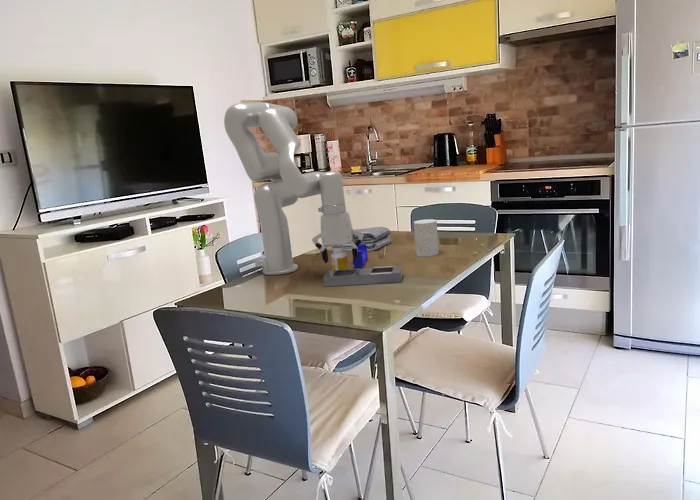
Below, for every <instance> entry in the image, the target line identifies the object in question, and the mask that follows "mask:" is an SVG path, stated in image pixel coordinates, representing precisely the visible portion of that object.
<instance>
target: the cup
mask: <svg viewBox="0 0 700 500" xmlns="http://www.w3.org/2000/svg"><path fill="white" fill-rule="evenodd" d="M437 223H438V222H437V219H432V218H431V219H419V220H416V221H415V220H414V221H413V231H414V241H415V243H414V244H415V254H416V256H417V257H422V258H423V257H425V258H427V257H433V256H434V255H435V256H438V255H439V254H440V252H439V251H440V250H439V236H438V224H437ZM437 254H438V255H437ZM435 256H434V257H435Z"/></svg>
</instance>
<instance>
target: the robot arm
mask: <svg viewBox="0 0 700 500" xmlns="http://www.w3.org/2000/svg"><path fill="white" fill-rule="evenodd" d="M223 121H224V122H223V125H224V129H225V132H226V134H227V137H228V138H229V140H230V142H231V143H232V145H233V147H234V148H235V150H236V153H237V155H238V157H239V159H240V162H241V163H242V166H243V168H244V170H245V171H244V172H245V173H246V175H247V177H248V178H249V179H250V180H251V181H252V182H256V183H257V182H264V181H270V182H265V183H263V184H260V185H259V186H258V187H257V188H256V189H255V191H254V193H253V200H254V204H255V207H256V209H257V213H258V218H259V222H260V229H261V235H262V236H261V237H262V244H263V250H264V252H263V253H264V257H265V259H263V260H254V261H255V262H254V265H255V267H256V268H263V269H262V274H264V275H268V276H280V275H286V274H290V273H293V272H295V271H297V270H298V268H299V266H298V264H296V263H294V261H293V253H292V245H291V238H290V228H289V222H288V218H287V215H286V214H285V212H284V210H283V208H286V207H289V206H292V205H294V204H295V203H297V201H298V199H306V198H308V197H309V198H310V197H312V196H317V195H320V200H321V206H320V207H318V208H317V211H318V213H322V215H320V233H318V234H317V235H315V236H314V237H312V239H311V242H312V243H313V244H314V246H315V247H316V248H317V249H318V250H320V252H321V257H322V261H324V263H325V264H327V263H329V256H328V255H329V253H328V249H327V247H330V246H332V247H334V246H340V245H344V244H350V245H351V246H352V247H353V249H352V251H351V254H352V261H353V260H354V261H356V259H357V257H358V250H357V247H358V245H359V244H360V243H361V242H362V239H363V236H364V234H363V233H361V232H359V231H356V230H354V229H353V225H352V221H351V217H350V213H349V212H348V211H347V207H346V200H345V192H344V185H343V184H344V183H343V175H342V173H341V172H340V171H339V170H331V171H325V172H323V171H312V172H306V173H302V172H301V170H300V169H299V167H298V166H297V164H296V161H295V158H294V157H295V156H294V155H295V154H296V152H298V151H299V149H300V148H301V146H302V145H301V144H302V143H301V141H300V139H299V138H298V136H297V135H296V133H295V131H294V130H295V129H296V127H297V125H298V117H297V114H296V112H295V111H294V110H293V109H292V108H290V107H288V106H284V105H279V104H274V103H270V102H264V101H257V102H256V101H255V102H253V101H252V102H250V101H249V102H248V101H247V102H245V101H244V102H238V103H234V104H231V105H230V106H229V107H228V108H227V109H226V111H225V113H224V119H223ZM259 127H260V128H261V130H262V131H263V133H264V135H265V136H266V138H267V139H268V141H269V142H270V144H271V145H272V147H273V148H274V152H273V151H270V152H266V151H264V149H263V147H262V145H261V143H260V141H259V139H258V138H257V136H256V135H255V134H254V133H253V132H252V131H251V130H250V129H249V128H259ZM353 234H354V235H357V236H358V237H359V239H358V241H357V242H355V241H354V240H353V239H354V235H353ZM319 239H321V243H320V242H319V241H318V240H319Z"/></svg>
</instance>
